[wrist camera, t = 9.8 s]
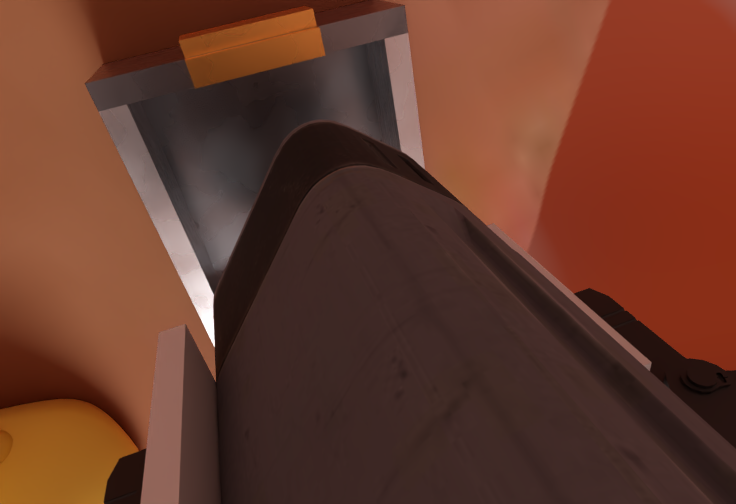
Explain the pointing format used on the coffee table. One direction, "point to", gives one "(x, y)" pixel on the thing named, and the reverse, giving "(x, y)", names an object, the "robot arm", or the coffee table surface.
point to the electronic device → (425, 356)
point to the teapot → (58, 452)
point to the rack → (249, 117)
